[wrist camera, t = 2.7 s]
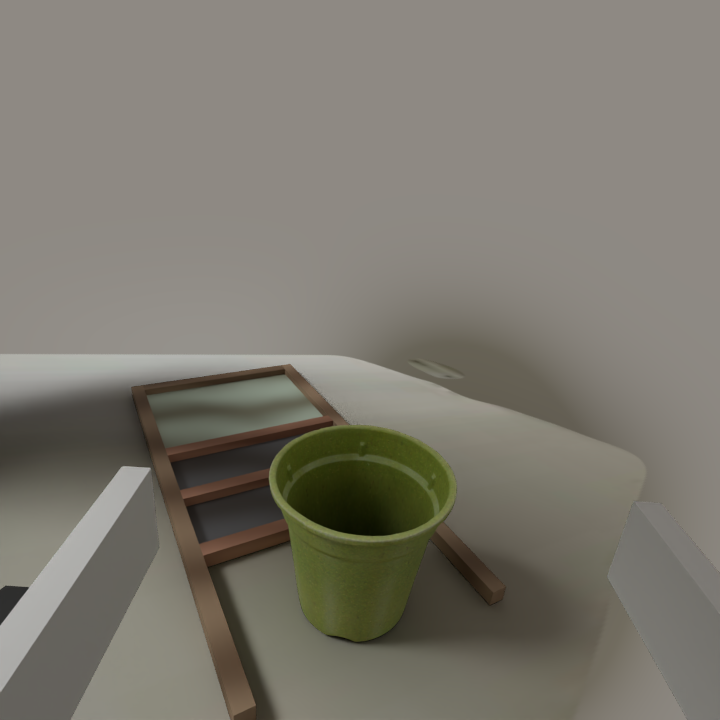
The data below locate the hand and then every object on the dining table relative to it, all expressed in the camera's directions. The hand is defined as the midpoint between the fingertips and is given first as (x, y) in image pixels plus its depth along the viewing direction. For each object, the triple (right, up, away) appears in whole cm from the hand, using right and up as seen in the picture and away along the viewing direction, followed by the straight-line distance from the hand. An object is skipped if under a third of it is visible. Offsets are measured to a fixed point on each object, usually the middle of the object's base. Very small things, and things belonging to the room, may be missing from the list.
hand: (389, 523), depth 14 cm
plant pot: (-1, -9, +15) cm, 18 cm away
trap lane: (-7, -4, +25) cm, 26 cm away
